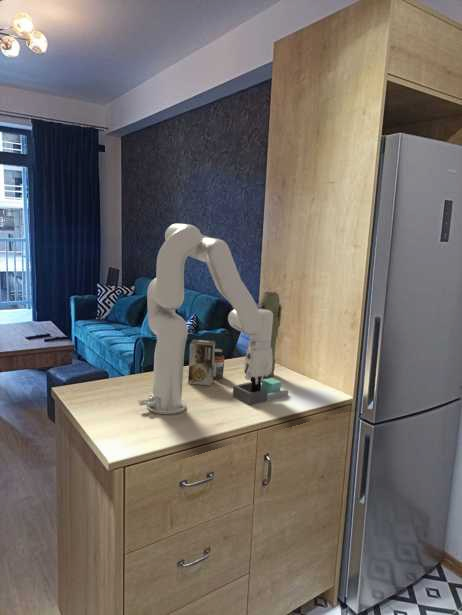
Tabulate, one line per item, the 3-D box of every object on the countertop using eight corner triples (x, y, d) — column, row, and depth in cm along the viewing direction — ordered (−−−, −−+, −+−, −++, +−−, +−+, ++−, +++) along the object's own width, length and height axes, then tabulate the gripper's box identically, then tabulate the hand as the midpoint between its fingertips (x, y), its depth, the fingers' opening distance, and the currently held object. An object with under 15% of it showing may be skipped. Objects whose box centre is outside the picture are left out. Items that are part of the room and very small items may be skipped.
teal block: (270, 397, 166) (271, 384, 165) (261, 392, 170) (262, 379, 169) (279, 394, 169) (281, 381, 168) (270, 390, 173) (271, 377, 172)
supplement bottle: (206, 374, 184) (208, 347, 182) (220, 374, 186) (222, 347, 184) (210, 379, 179) (212, 352, 177) (224, 379, 181) (226, 352, 178)
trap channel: (249, 405, 156) (250, 394, 156) (232, 396, 163) (233, 385, 163) (287, 395, 169) (289, 385, 168) (270, 387, 176) (271, 377, 175)
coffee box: (213, 380, 178) (216, 341, 175) (210, 386, 172) (213, 345, 169) (190, 378, 179) (193, 338, 176) (187, 383, 172) (189, 342, 169)
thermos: (280, 375, 191) (288, 293, 184) (261, 380, 183) (269, 295, 176) (265, 369, 197) (273, 290, 191) (245, 373, 189) (253, 291, 183)
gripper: (251, 349, 153) (247, 400, 156) (282, 344, 163) (277, 392, 166) (237, 343, 159) (233, 393, 162) (267, 339, 168) (263, 385, 172)
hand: (255, 392), depth 164 cm, fingers closed
